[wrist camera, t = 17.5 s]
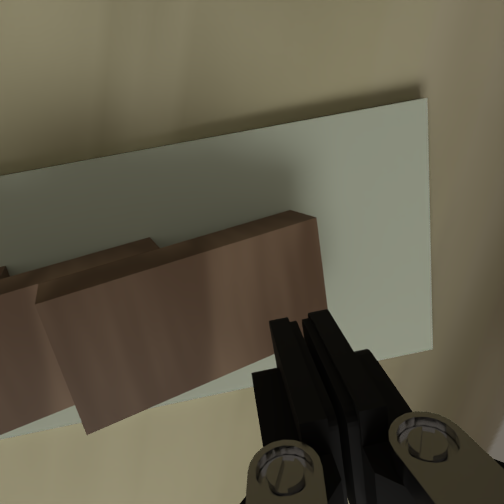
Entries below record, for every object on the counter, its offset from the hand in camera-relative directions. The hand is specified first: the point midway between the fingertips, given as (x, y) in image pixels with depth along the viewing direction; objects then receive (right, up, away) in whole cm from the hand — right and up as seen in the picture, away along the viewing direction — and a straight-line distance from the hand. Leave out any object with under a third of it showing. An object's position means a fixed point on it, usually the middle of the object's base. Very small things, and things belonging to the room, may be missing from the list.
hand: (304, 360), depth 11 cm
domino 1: (+1, +2, +6) cm, 6 cm away
